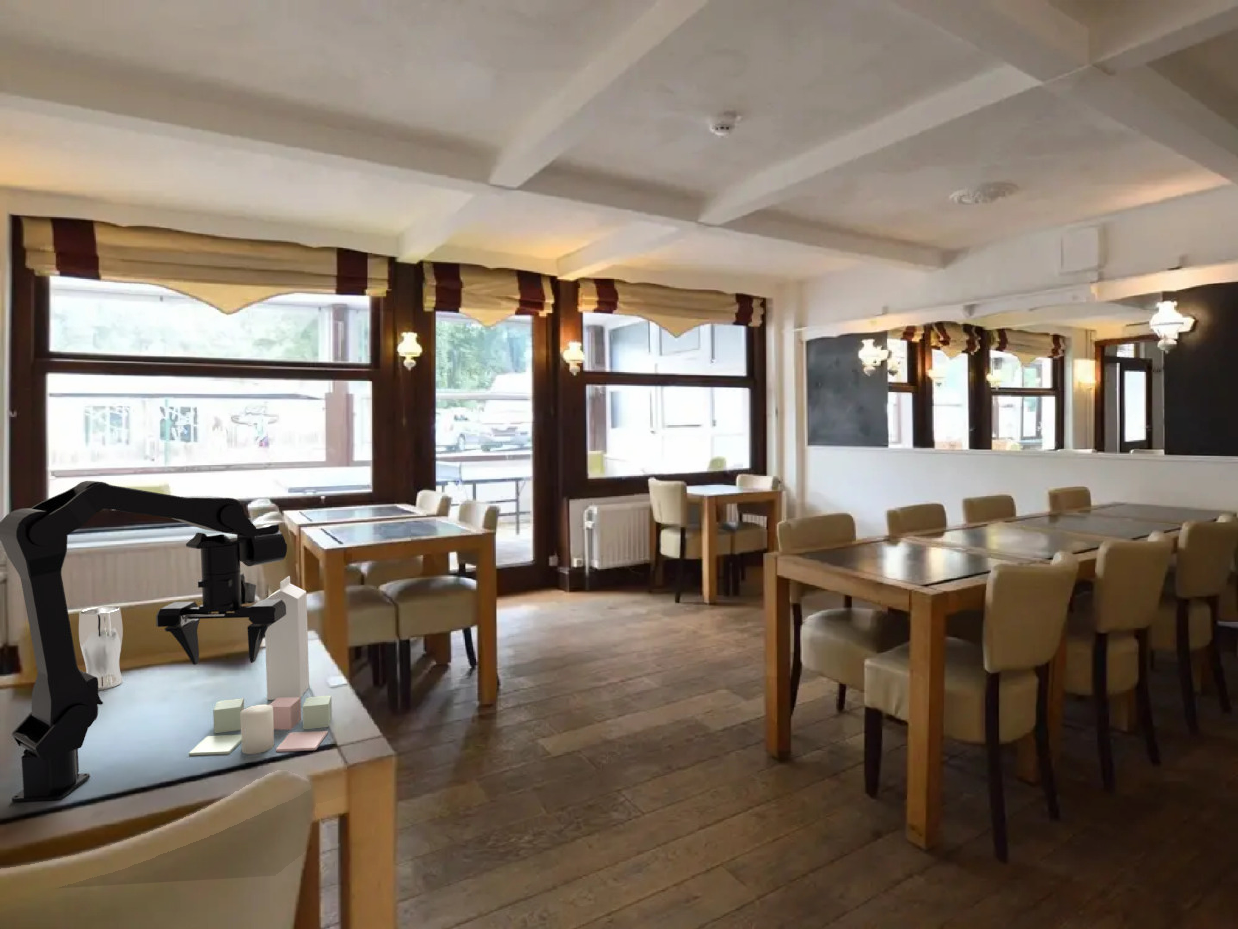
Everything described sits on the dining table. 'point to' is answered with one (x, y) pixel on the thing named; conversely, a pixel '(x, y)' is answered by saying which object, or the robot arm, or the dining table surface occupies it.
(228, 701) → the sage cube
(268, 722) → the cream rounded cylinder
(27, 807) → the dining table surface
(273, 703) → the cube rose
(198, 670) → the dining table surface
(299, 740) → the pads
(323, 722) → the sage cube
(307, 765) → the dining table surface
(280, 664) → the milk
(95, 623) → the beer glass
